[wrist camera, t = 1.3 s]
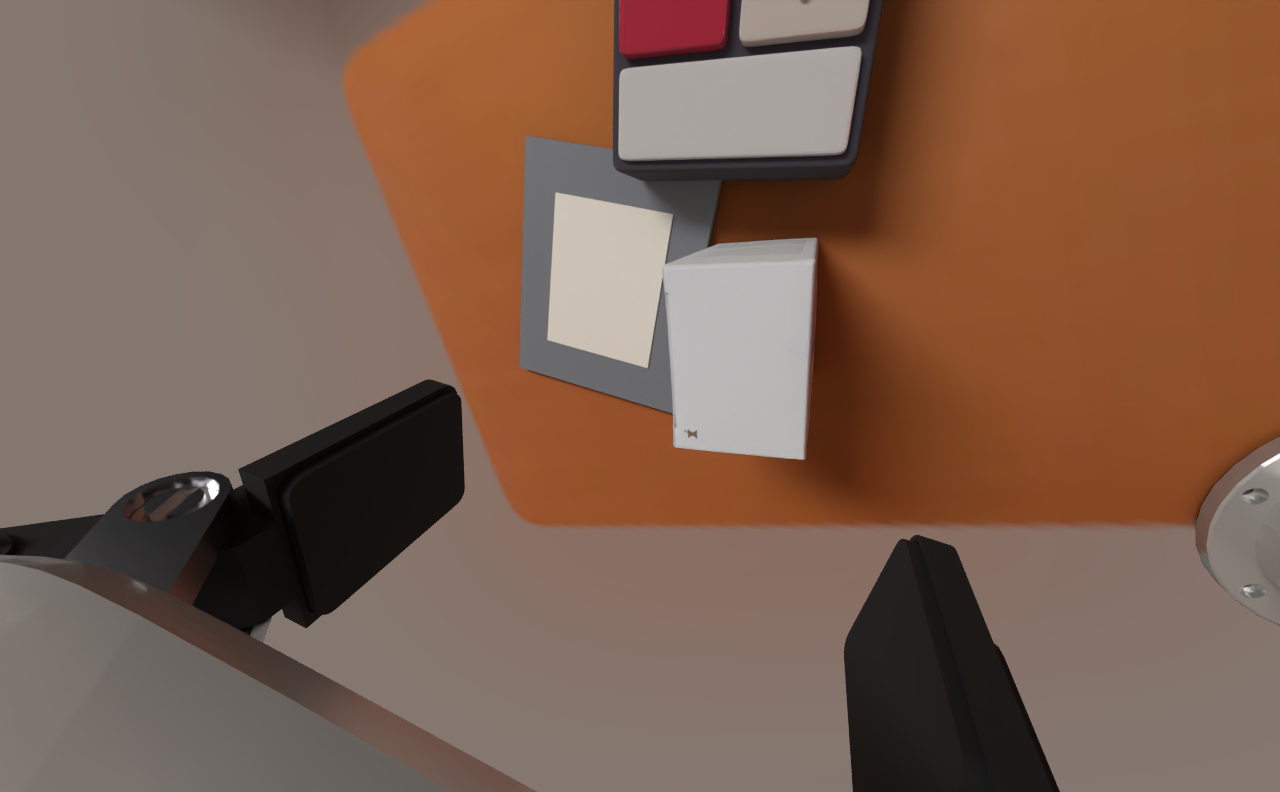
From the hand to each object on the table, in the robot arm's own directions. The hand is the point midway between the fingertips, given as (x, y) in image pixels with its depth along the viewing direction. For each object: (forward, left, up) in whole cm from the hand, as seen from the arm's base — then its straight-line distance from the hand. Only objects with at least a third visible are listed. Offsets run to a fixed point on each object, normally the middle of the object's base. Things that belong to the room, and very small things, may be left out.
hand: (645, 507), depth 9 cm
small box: (0, 0, -20) cm, 20 cm away
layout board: (+10, +1, -20) cm, 22 cm away
